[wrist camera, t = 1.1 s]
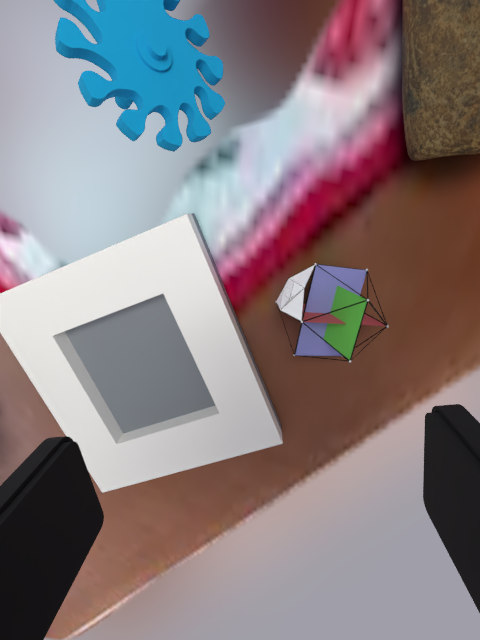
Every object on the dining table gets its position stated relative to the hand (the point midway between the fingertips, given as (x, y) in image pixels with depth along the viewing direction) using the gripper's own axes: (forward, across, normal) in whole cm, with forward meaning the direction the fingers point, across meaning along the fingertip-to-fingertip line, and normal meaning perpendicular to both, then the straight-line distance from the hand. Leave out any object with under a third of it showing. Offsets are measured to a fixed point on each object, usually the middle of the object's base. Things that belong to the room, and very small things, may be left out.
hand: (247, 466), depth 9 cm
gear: (+19, +4, -16) cm, 26 cm away
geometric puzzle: (+19, -5, +1) cm, 20 cm away
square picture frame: (+19, +11, +5) cm, 22 cm away
